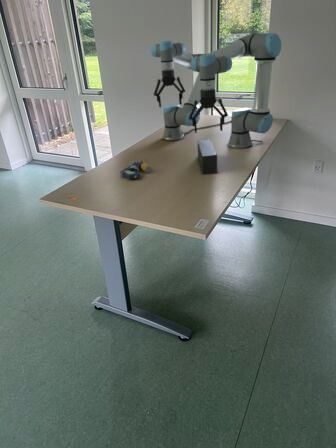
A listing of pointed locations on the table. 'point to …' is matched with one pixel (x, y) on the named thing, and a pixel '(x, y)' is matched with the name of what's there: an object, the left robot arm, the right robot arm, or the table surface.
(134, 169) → the spray gun
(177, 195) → the table surface
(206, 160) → the box
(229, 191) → the table surface
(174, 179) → the table surface
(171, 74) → the left robot arm
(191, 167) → the table surface
